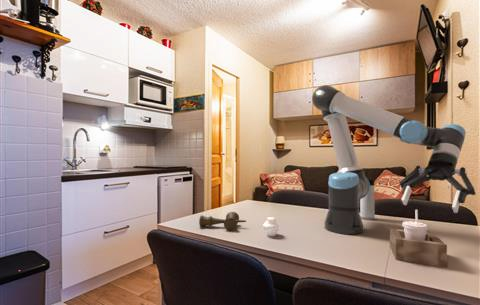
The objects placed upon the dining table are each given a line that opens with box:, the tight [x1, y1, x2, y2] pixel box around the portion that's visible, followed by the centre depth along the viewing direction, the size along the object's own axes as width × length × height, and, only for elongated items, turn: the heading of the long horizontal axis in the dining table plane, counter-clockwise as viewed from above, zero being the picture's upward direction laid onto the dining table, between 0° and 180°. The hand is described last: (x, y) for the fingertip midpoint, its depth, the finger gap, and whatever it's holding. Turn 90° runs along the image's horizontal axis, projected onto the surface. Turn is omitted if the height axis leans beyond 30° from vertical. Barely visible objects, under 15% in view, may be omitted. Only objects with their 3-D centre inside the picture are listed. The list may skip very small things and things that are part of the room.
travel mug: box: [359, 178, 376, 221], centre depth 122 cm, size 6×7×20 cm
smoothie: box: [401, 209, 429, 241], centre depth 76 cm, size 6×6×14 cm
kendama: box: [198, 211, 247, 231], centre depth 105 cm, size 6×10×20 cm
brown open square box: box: [389, 228, 448, 268], centre depth 75 cm, size 12×12×6 cm
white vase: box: [262, 216, 280, 237], centre depth 94 cm, size 6×6×7 cm
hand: (427, 206), depth 79 cm, fingers open, 13 cm apart
